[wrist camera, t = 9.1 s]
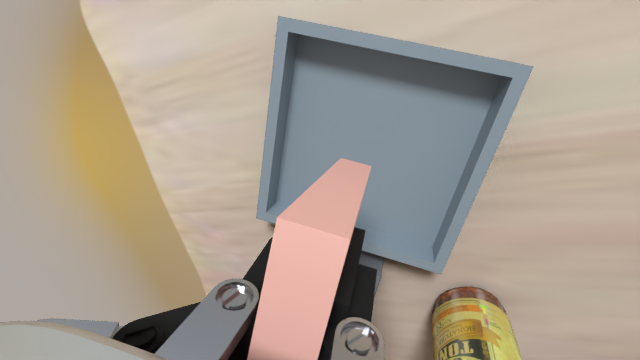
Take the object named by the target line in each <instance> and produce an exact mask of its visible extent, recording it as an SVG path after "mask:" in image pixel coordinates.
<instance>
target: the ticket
mask: <svg viewBox="0 0 640 360" xmlns="http://www.w3.org/2000/svg"><path fill="white" fill-rule="evenodd" d="M370 170H371V166H370V165H366V164H362V163H358V162H354V161H351V160H347V159H343V158H340V159H339V160H338V161H337V162H336V163H335V164H334V165H333V166H332V167H331V168H330V169H329V170H328V171H326V172H325V173H324V174H323V175H322V176H321V177H320V178H319V179H318V180H317V181H316V182H315V183H314V184H312V185H311V186H310V187H309V188H308V189H307V190H306V191H305V192H304V193H303V194H302V195H301V196H300V197H299V198H297V199H296V200H295V201H294V202H293V203H292V204H291V205H290V206H289V207H288V208H287V209H286V210H285V211H283V212H282V213H281V214H280V215H279V216H278V217H277V220H276V225H275V230H274V234H273V239H272V244H271V249H270V253H269V258H268V263H267V268H266V272H265V277H264V282H263V287H262V291H261V296H260V301H259V306H258V310H257V315H256V320H255V325H254V329H253V334H252V339H251V344H250V348H249V353H248V358H247V360H318V356H319V353H320V349H321V345H322V342H323V338H324V335H325V331H326V327H327V324H328V320H329V317H330V313H331V309H332V306H333V302H334V298H335V295H336V291H337V288H338V284H339V280H340V277H341V273H342V270H343V266H344V263H345V259H346V256H347V252H348V248H349V245H350V241H351V238H352V234H353V231H354V227H355V224H356V221H357V217H358V214H359V210H360V206H361V203H362V199H363V195H364V192H365V188H366V184H367V181H368V177H369V174H370Z"/></svg>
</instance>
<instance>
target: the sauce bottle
mask: <svg viewBox="0 0 640 360" xmlns="http://www.w3.org/2000/svg"><path fill="white" fill-rule="evenodd" d="M432 336H433V356H434V360H522V357H521V354H520V351H519V348H518V345H517V342H516V338H515V335H514V332H513V329H512V326H511V323H510V320H509V318H508V317H507V315H506V311H505V309H504V308H503V306H502V305H501V303H500V302H499V300H498V299H497V298H496V297H495V296H493V295H492V294H491V293H489V292H487V291H485V290H483V289H481V288H475V287H459V288H454V289H451V290H447V291H446V292H445V293H443V294H441V295H440V297H439V298H438V300H437V302H436V304H435V306H434V310H433V316H432Z"/></svg>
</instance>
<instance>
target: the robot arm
mask: <svg viewBox="0 0 640 360" xmlns="http://www.w3.org/2000/svg"><path fill="white" fill-rule="evenodd" d="M365 231H366V230H364V229H360V228H357V227H354V231H353V234H352V238H351V241H350V245H349V248H348V252H347V256H346V259H345V263H344V266H343V270H342V273H341V277H340V280H339V284H338V288H337V291H336V295H335V298H334V302H333V306H332V309H331V313H330V317H329V320H328V324H327V327H326V331H325V335H324V338H323V342H322V345H321V349H320V353H319V356H318V360H385V344H384V339H383V336H382V334H381V332H380V331H379V330H378V329H377V327H376V326H375V325H373V324H372V323H371V317H372V309H373V301H374V292H375V284H376V276H377V269H375V268H372V267H368V266H365V265H362V264H359V260H360V255H361V250H362V246H363V241H364V236H365ZM272 239H273V237H272V238H271V239H270V240H269V241H268V243H267V244H266V246H265V247H264V249H263V250H262V252H261V253H260V255H259V256H258V257H257V259H256V260H255V262H254V263H253V265H252V266H251V268H250V269H249V271H248V272H247V273H246V275H245V276H244V278H243V279H229V280H225V281H223V282H221V283H219V284H218V285H217V286H215V287H214V288H213V289H212V290H211V292H210V293H209V294H208V295H207V296H206V297H205V298H204V299H203V300H202V302H199V303H195V304H191V305H188V306H185V307H181V308H177V309H173V310H170V311H167V312H163V313H159V314H156V315H152V316H148V317H145V318H141V319H138V320H135V321H133V322H130V323H128V324H127V325H125V326H119V322H108V321H89V320H69V319H42V320H38V321H11V322H0V360H247V358H248V353H249V348H250V344H251V339H252V334H253V329H254V325H255V320H256V315H257V310H258V306H259V301H260V296H261V291H262V287H263V282H264V277H265V272H266V268H267V263H268V258H269V253H270V249H271V244H272Z"/></svg>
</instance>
